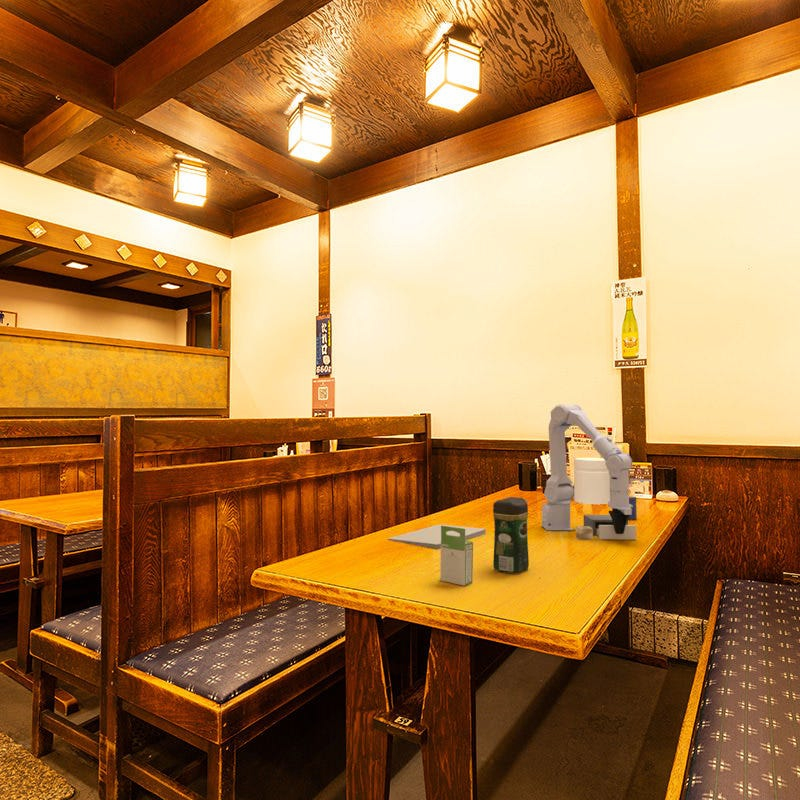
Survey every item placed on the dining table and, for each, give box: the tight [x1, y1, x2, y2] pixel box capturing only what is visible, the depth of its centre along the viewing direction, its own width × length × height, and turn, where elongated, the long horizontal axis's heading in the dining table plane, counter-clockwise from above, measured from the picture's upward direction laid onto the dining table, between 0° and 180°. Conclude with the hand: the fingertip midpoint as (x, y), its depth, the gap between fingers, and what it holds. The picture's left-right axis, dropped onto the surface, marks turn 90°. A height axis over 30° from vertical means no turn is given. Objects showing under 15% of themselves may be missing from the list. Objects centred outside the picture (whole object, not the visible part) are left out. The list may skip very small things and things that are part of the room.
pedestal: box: [576, 525, 594, 541], centre depth 177 cm, size 4×4×4 cm
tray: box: [595, 524, 637, 541], centre depth 179 cm, size 12×9×4 cm
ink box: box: [439, 525, 474, 587], centre depth 130 cm, size 7×4×13 cm, turn 52°
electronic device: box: [387, 524, 487, 550], centre depth 179 cm, size 29×20×2 cm
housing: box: [583, 514, 629, 536], centre depth 186 cm, size 12×9×5 cm
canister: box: [573, 457, 610, 506], centre depth 253 cm, size 16×16×20 cm
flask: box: [611, 495, 638, 521], centre depth 210 cm, size 9×3×11 cm, turn 87°
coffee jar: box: [492, 496, 530, 574], centre depth 141 cm, size 10×8×19 cm
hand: (619, 533), depth 173 cm, fingers closed
